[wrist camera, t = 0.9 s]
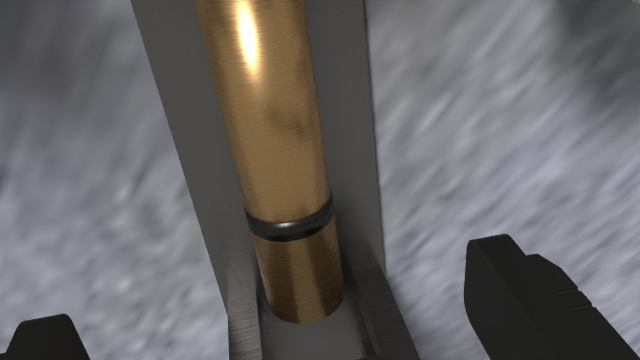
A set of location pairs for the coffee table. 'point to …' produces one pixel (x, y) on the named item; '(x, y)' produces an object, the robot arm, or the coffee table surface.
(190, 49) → the dark grey holder
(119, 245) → the coffee table surface
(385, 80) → the coffee table surface
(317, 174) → the tube
